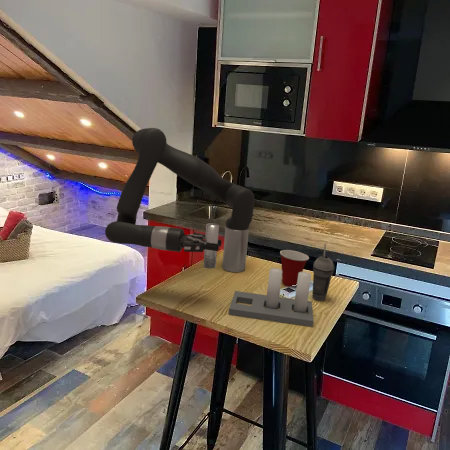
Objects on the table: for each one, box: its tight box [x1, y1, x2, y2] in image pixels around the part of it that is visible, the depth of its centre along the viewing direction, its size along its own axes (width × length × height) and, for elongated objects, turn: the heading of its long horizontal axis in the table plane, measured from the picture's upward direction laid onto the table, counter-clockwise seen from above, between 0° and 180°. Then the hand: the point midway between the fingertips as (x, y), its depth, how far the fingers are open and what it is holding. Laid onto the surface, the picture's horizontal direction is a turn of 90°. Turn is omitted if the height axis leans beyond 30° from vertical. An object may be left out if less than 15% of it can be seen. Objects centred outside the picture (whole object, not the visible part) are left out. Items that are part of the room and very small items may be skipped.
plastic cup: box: [279, 249, 310, 287], centre depth 161 cm, size 11×11×12 cm
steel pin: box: [202, 222, 220, 270], centre depth 137 cm, size 4×4×14 cm
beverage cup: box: [312, 243, 335, 302], centre depth 149 cm, size 7×7×20 cm
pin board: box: [228, 267, 314, 328], centre depth 138 cm, size 14×26×14 cm, turn 81°
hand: (219, 245), depth 137 cm, fingers closed on steel pin, 4 cm apart
